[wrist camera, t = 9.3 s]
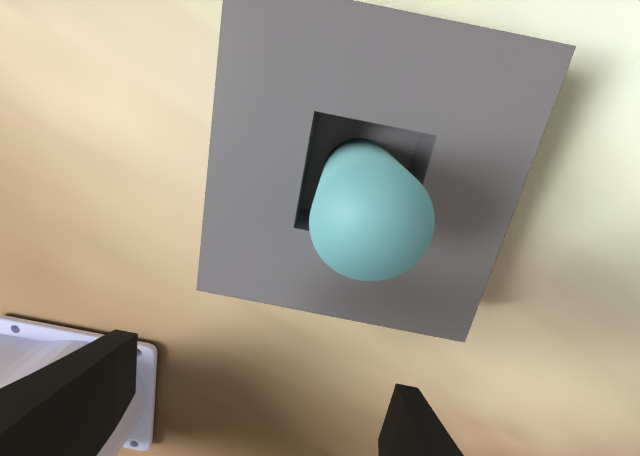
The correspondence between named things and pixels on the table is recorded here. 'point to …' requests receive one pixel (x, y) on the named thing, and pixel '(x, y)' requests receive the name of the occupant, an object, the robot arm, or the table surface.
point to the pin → (369, 213)
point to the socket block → (375, 124)
